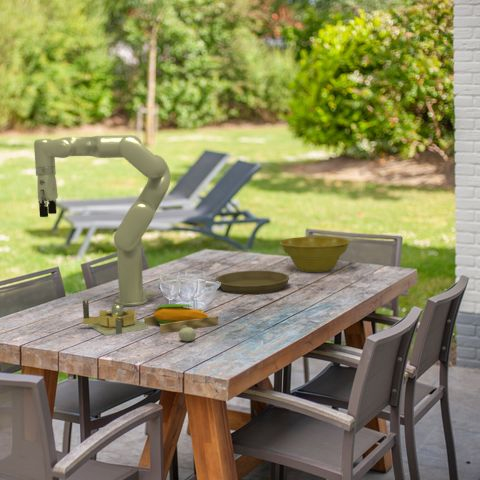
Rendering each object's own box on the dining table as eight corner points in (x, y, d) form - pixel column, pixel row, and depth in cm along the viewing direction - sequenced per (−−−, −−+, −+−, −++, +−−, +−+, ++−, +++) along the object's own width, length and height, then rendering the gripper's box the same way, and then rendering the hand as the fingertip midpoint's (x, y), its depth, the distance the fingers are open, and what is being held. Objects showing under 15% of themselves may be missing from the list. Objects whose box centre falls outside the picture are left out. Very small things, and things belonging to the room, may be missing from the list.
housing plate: (130, 320, 351) (129, 298, 350) (148, 329, 337) (148, 306, 335) (88, 326, 343) (87, 304, 342) (105, 335, 329) (104, 312, 328)
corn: (156, 300, 346) (210, 301, 341) (158, 320, 348) (211, 322, 343) (150, 306, 339) (204, 307, 334) (151, 326, 341) (205, 328, 336)
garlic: (175, 341, 319) (174, 326, 318) (184, 338, 323) (184, 322, 322) (190, 343, 316) (189, 328, 315) (199, 340, 320) (198, 324, 319)
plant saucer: (249, 299, 383) (249, 287, 382) (200, 288, 406) (200, 277, 405) (304, 287, 403) (304, 276, 402) (255, 278, 426) (254, 267, 425)
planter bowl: (304, 261, 462) (303, 233, 460) (363, 267, 443) (363, 238, 441) (266, 272, 436) (265, 243, 434) (327, 279, 418) (327, 248, 416)
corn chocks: (199, 317, 353) (199, 309, 352) (218, 324, 340) (218, 316, 340) (144, 325, 342) (144, 317, 342) (161, 333, 330) (161, 325, 329)
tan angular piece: (137, 318, 346) (136, 296, 345) (133, 326, 334) (132, 303, 333) (86, 319, 346) (85, 297, 345) (80, 327, 334) (79, 304, 333)
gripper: (47, 173, 363) (50, 218, 365) (62, 169, 380) (64, 212, 382) (28, 173, 364) (31, 218, 367) (43, 169, 381) (46, 212, 383)
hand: (48, 215), depth 374 cm, fingers open, 9 cm apart
